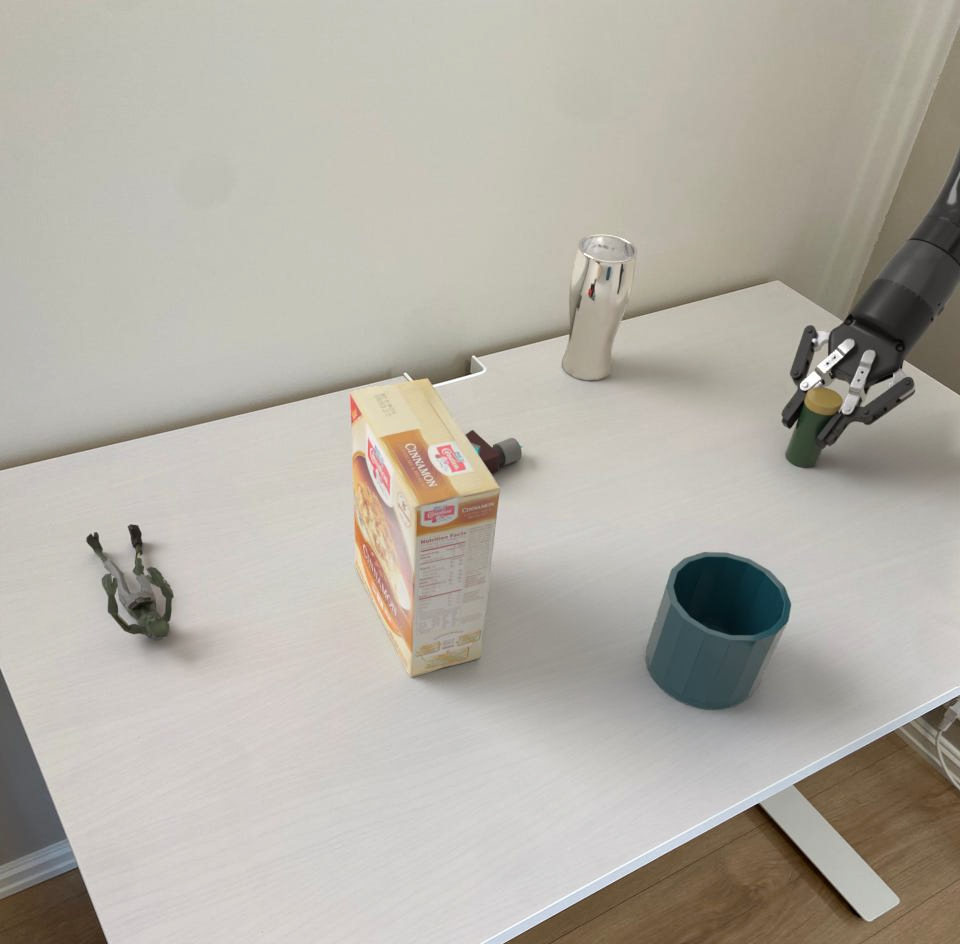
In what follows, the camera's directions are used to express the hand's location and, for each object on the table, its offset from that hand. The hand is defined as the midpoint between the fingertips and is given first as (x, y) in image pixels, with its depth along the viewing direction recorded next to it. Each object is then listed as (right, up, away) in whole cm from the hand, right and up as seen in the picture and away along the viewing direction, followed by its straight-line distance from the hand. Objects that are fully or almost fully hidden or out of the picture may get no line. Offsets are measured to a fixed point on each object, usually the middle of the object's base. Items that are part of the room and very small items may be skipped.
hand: (802, 434), depth 104 cm
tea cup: (-15, -24, -18) cm, 34 cm away
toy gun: (-37, -3, 0) cm, 37 cm away
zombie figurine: (-66, -19, -18) cm, 71 cm away
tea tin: (+1, -2, +4) cm, 4 cm away
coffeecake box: (-41, -20, -16) cm, 48 cm away
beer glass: (-22, +11, +13) cm, 28 cm away
